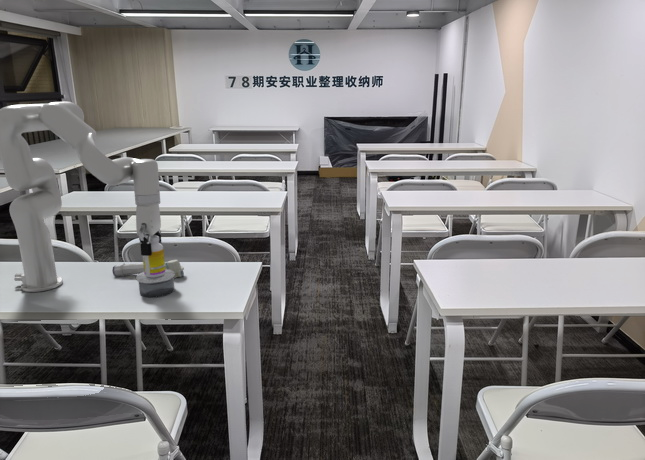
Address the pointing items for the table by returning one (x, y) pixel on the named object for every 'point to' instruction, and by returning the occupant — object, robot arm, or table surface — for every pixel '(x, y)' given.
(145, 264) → the supplement bottle
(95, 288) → the table surface
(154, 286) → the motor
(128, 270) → the light grey long piece
